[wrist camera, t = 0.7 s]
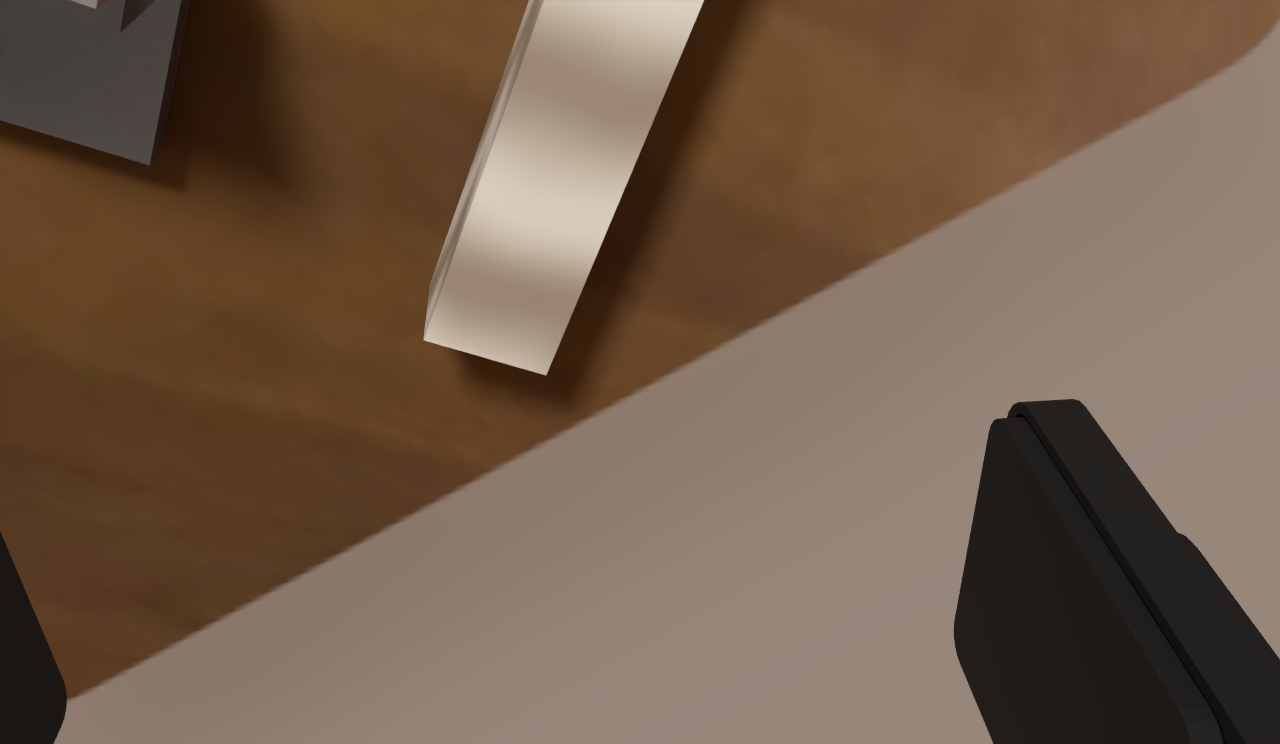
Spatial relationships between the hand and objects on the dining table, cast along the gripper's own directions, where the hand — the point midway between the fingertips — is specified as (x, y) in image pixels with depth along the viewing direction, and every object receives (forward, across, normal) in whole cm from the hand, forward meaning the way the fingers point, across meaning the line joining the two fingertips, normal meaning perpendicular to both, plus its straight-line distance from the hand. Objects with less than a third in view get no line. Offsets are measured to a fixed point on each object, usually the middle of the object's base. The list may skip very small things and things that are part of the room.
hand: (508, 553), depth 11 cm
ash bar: (+26, -1, +3) cm, 26 cm away
